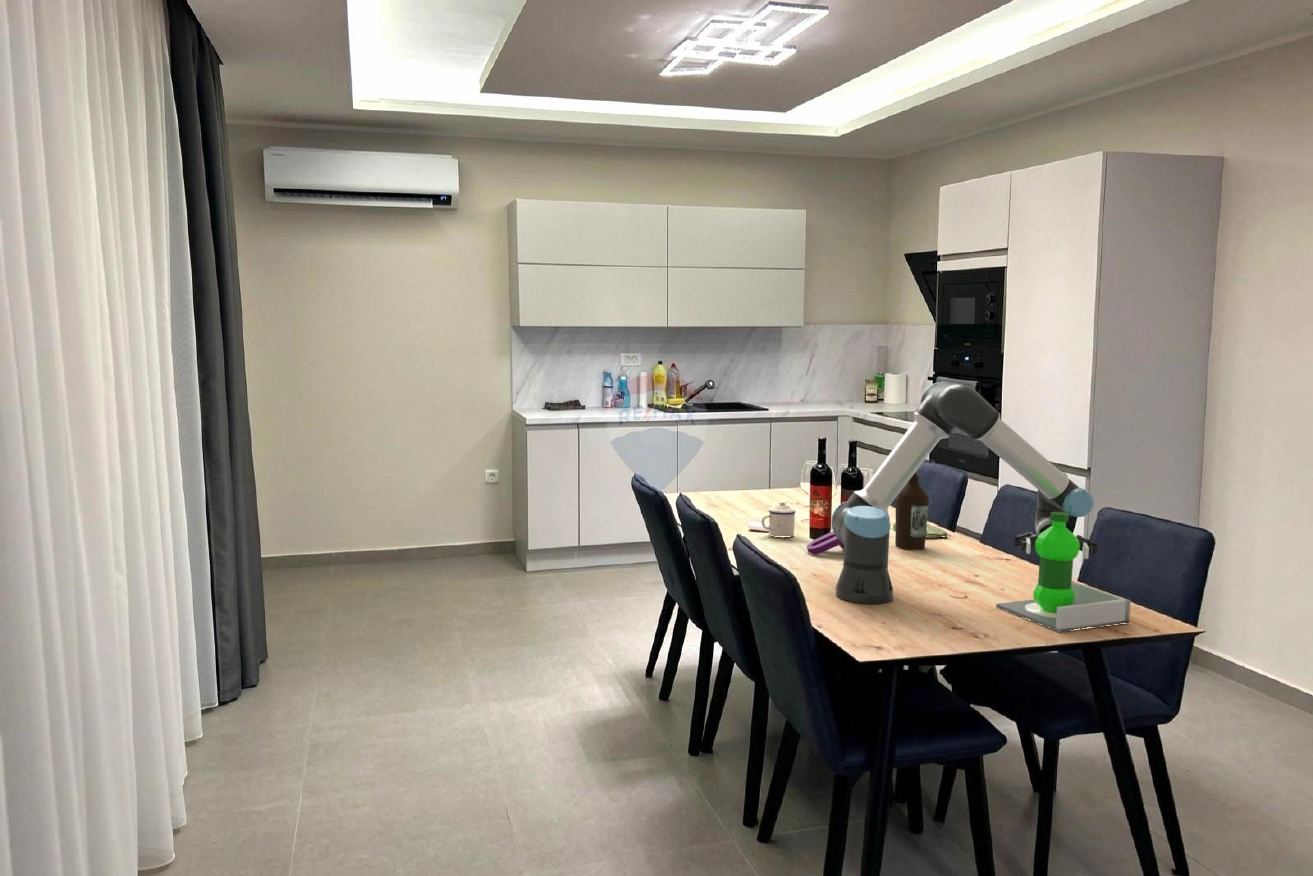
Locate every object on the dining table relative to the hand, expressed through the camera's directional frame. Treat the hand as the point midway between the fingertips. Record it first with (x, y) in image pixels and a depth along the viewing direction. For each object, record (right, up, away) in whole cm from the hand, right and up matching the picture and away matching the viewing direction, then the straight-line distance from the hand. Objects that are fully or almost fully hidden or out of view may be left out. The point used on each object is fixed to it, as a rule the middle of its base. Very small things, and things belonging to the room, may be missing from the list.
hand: (1057, 551), depth 245 cm
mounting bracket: (-44, -9, +65) cm, 79 cm away
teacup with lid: (-59, -5, +89) cm, 107 cm away
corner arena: (+2, -17, +2) cm, 17 cm away
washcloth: (-9, -6, +96) cm, 97 cm away
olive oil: (-17, -8, +76) cm, 78 cm away
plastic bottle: (0, -15, +3) cm, 16 cm away
